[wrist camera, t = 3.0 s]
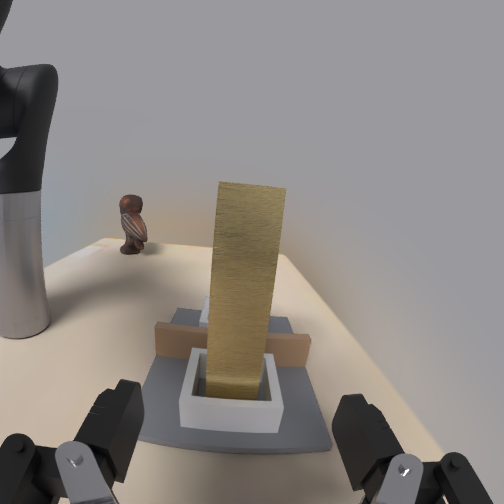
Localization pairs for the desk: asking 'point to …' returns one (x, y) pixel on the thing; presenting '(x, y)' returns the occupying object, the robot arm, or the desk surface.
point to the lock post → (242, 287)
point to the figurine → (132, 224)
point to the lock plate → (229, 410)
